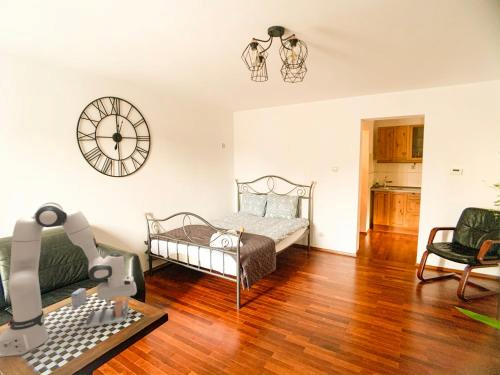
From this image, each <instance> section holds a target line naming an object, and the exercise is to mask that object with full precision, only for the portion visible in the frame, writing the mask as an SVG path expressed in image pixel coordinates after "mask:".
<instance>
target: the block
mask: <svg viewBox="0 0 500 375" xmlns="http://www.w3.org/2000/svg"><path fill="white" fill-rule="evenodd" d="M114 306H115V315H116V318H118V317H122V314H123V310H124V308H123V307H124V298H118V299H117V298H116V302H115V304H114Z"/></svg>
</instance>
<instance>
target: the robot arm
mask: <svg viewBox="0 0 500 375" xmlns="http://www.w3.org/2000/svg"><path fill="white" fill-rule="evenodd" d="M54 227H62V228H63V229H64V231H65V233H66V236H67V237H68V239H69V240H70V242H71V243H72V244H73V245H74V246H77V247H80V248H81V249H82V250H83V252H84V255H85V256H86V258H87V260H88V261H87V262H88V264H87V265H88V266H87V267H88V271H87V272H88V277H89V279H90V280H91V281H94V282H100V281H103V280H106V279H107V282H100V283H99V284H97V285H96V291H97V300H99V301H102V300H104V302H105V303H106V304H107V307H109V306H110V307H111V305H112V302H111V301H109V300H110V299H115V298H116V299H117V298H118V299H119V298H122V297H127V298H126V299H125V304H126V303H128V304H129V300H130V298H131V296H136V294H137V292H138V291H137V289H138V288H137V284H136V282H135V280H134V279H135V278H134V276H131V275H126V273H125V259H124V256H123V255H122V254H121V253H117V252H111V253H109V254H108V255H107V256H106V257H104V256H103V255H101V253H100V251H99V250H98V248H97V246H96V244H95V241H94V233H93V230H92V227H91V225H90V223H89V221H88V220H87V217H86V215H84V213H83V212H82V211H81V210H80V209H74V208H72V209H69V210H64V209H63V207H62V206H61V205H60V204H58V203H55V202H47V203H46V202H45V203H44V204H42V205H40V206H39V207H38V208H37V210H36V211H35V213H34V214H33V215H32V216H24V217H20V218H19V219H17V220H16V222H15V224H14V228H13V232H12V236H11V237H12V238H11V249H10V250H11V251H10V266H9V277H8V285H7V286H8V292H9V299H10V302H11V310H12V319H11V320H9V322H8V323H7V328H6V330H5V331H3V332H2V333H1V334H0V358H2V357H14V356H22V355H25V354H27V353H28V352H29V351H31V350H34V349H36V348H38V347H40V346H41V345H43V344H44V343H46V342H47V340H49V338H50V334H49V332H48V330H47V328H46V324H45V314H44V313H45V312H44V310H43V305H42V297H41V295H42V294H41V289H40V288H41V287H40V280H39V265H40V257H41V249H42V248H41V246H42V236H43V235H42V234H43V232H42V231H44V230H43V229H44V228H54Z"/></svg>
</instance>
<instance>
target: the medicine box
mask: <svg viewBox="0 0 500 375" xmlns="http://www.w3.org/2000/svg"><path fill="white" fill-rule="evenodd" d="M70 297H71V298H70V299H71V308H80V307H81V306H82V305H83V304H84V303H85V302H87V300H88V299H87V298H88V297H87V289H86V288H83V287H82V288H78V289H77V290H75V291H73V292H72V293H71V295H70Z"/></svg>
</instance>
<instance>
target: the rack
mask: <svg viewBox="0 0 500 375" xmlns="http://www.w3.org/2000/svg"><path fill="white" fill-rule="evenodd" d="M128 304H129V302H128V303H125V304H124V306H123V308H124V310H123V314H122V317H118V318H116V315H115V305H113V308H112V309H106V307H107V306H103V307H102V310H100V311H95V308H93V307H92V308H91V311H90V312H89V314H88V316H87V318H86V324H85V329H88V328H94V327H98V326H99V325H100V326H103V325H104V324H105V325H111V324H114V323H116V324H117V323H120V322H124V321H125V322H126V321H127V316H128V313H129V309H130V306H129V305H128ZM105 325H104V326H105ZM100 326H99V327H100Z"/></svg>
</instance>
